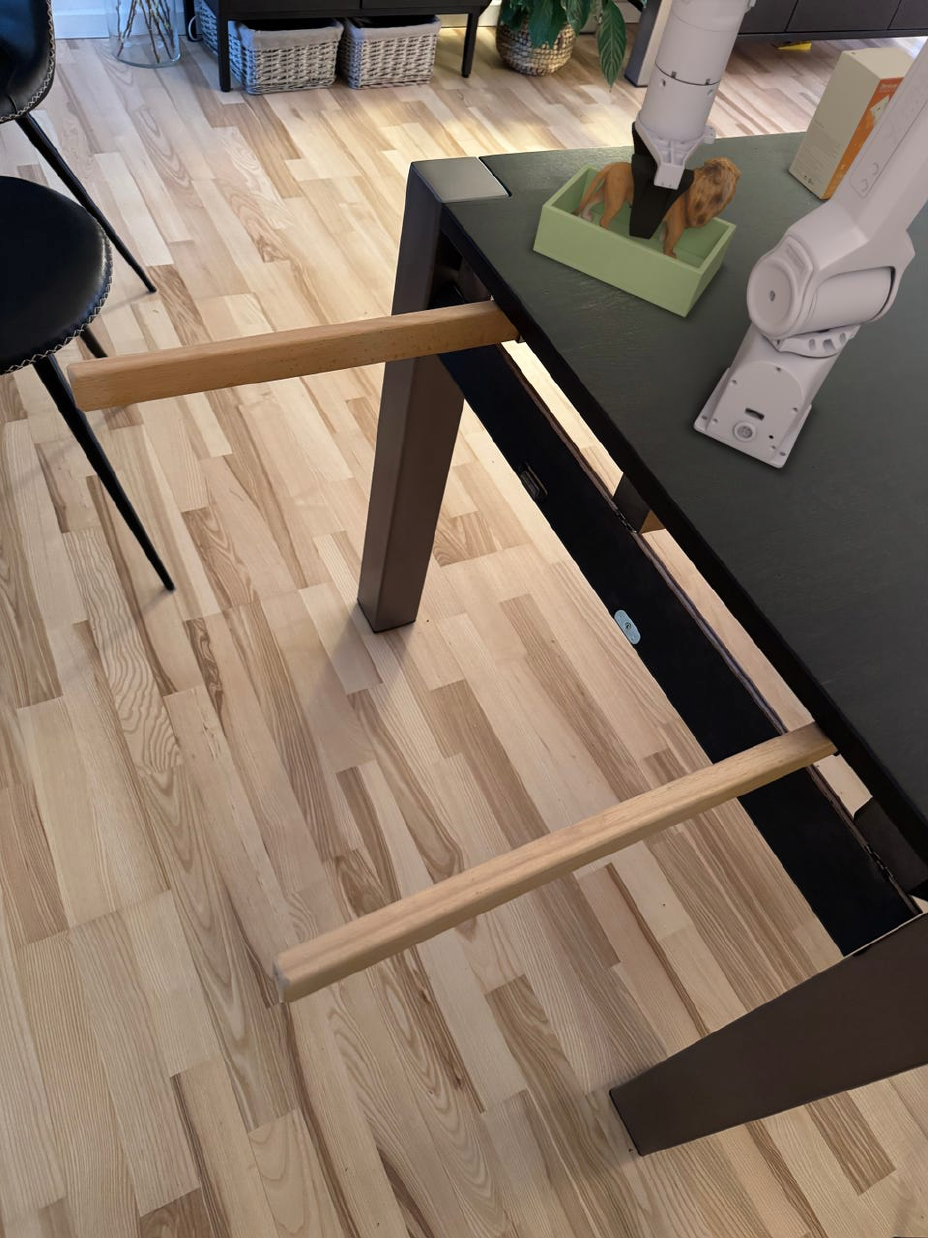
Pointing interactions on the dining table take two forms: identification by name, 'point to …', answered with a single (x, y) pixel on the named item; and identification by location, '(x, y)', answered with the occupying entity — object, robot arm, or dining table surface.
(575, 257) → the bin
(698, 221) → the lion figurine
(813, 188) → the small box
